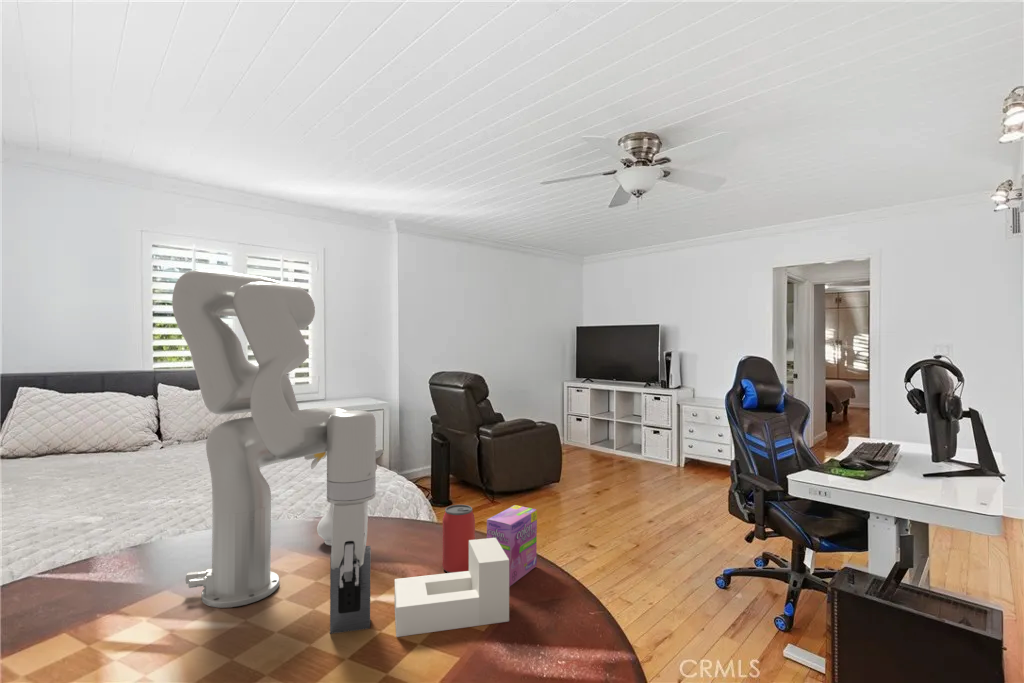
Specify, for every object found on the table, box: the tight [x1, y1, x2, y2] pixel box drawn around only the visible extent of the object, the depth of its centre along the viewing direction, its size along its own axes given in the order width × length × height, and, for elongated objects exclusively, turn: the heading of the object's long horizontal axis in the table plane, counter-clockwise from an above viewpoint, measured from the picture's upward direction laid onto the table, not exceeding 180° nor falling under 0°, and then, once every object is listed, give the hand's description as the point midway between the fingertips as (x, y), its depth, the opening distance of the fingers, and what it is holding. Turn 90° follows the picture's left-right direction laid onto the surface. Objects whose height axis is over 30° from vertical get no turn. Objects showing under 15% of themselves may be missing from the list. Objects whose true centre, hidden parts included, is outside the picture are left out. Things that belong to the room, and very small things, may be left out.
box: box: [486, 504, 538, 587], centre depth 100 cm, size 10×6×12 cm, turn 148°
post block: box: [394, 537, 510, 638], centre depth 85 cm, size 18×10×10 cm, turn 105°
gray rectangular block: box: [329, 545, 372, 635], centre depth 81 cm, size 6×3×12 cm, turn 105°
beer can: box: [442, 504, 476, 573], centre depth 103 cm, size 7×7×12 cm
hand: (351, 597), depth 81 cm, fingers open, 8 cm apart
